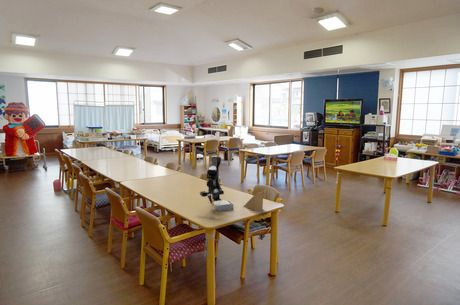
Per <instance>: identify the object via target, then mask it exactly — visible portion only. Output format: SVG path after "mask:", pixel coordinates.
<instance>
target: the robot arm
mask: <svg viewBox="0 0 460 305" xmlns="http://www.w3.org/2000/svg"><path fill="white" fill-rule="evenodd" d="M210 162H211V164H210V167H208V170H206V171H207V172H206V179H207V182H206V186H207V188H208V190H207V192H206V191H205V190H204V191H202V190H201V191H200V192H199V195H200V196H201V197H204V198H205V197H207V198H208V202H210V203H211V198H212V199H213V200H214V201H221V200H222V199H221V198H220V196H221V195H224V193H225V191H224V190H223V188H222V187H221V183H220V181H219V180H220V165H221V163H222V157H220V156H212V157H211V158H210ZM210 203H209V204H210Z"/></svg>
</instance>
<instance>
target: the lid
mask: <svg viewBox="0 0 460 305" xmlns="http://www.w3.org/2000/svg"><path fill="white" fill-rule="evenodd" d="M228 201H229V200H227V199H221V200H217V201H214V200H213V199H212V197H211V203H210V201H208V203H209V205H211V206H212V207H213V208H214V206H222V205H229V204H231V203H232V202H231V203H229V202H230V201H229V202H228Z"/></svg>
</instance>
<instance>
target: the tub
mask: <svg viewBox="0 0 460 305" xmlns="http://www.w3.org/2000/svg"><path fill="white" fill-rule="evenodd" d="M227 201H228V202H229V203H231V204H229V205H222V206H214V207H213V208H214V209H216V210H217V211H218V212H221V211H222V212H223V211H229V210H230V211H231V210H234V203H232V201H230V200H227Z"/></svg>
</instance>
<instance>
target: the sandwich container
mask: <svg viewBox="0 0 460 305" xmlns="http://www.w3.org/2000/svg"><path fill="white" fill-rule="evenodd" d="M263 204H264V191H261V192H257V193H255V194H254V195H253V196H252V197H251V198H249V200H248V201H247V202H246V203H245V204H244V205H243V207H244V208H246V209H249V210H251V211H253V212H257V211H261V210H264V209H263V206H264V205H263Z"/></svg>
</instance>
